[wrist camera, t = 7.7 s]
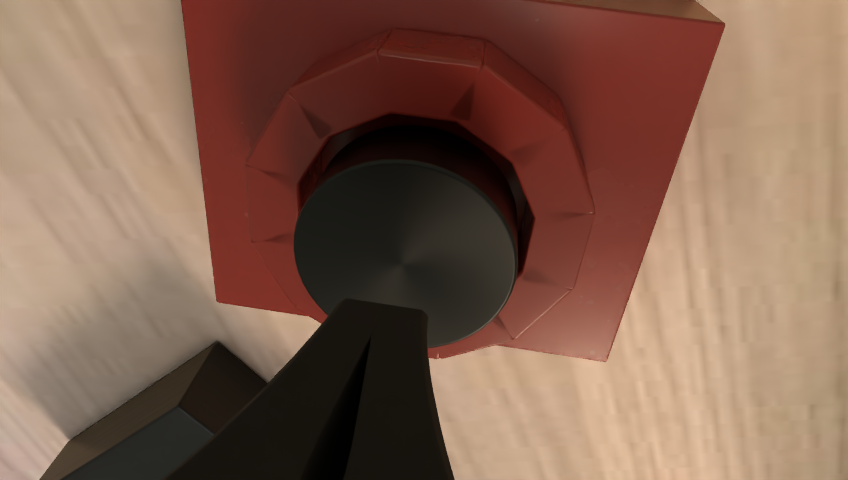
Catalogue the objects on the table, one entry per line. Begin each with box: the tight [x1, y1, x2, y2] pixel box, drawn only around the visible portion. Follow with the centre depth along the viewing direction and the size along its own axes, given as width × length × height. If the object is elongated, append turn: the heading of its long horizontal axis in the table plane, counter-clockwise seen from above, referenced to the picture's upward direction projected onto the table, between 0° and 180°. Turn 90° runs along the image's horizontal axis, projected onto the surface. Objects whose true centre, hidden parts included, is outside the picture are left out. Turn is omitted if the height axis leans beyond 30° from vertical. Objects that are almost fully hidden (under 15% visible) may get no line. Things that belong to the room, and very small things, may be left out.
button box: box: [181, 0, 725, 362], centre depth 14 cm, size 11×9×4 cm
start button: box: [293, 125, 518, 348], centre depth 12 cm, size 4×4×2 cm
